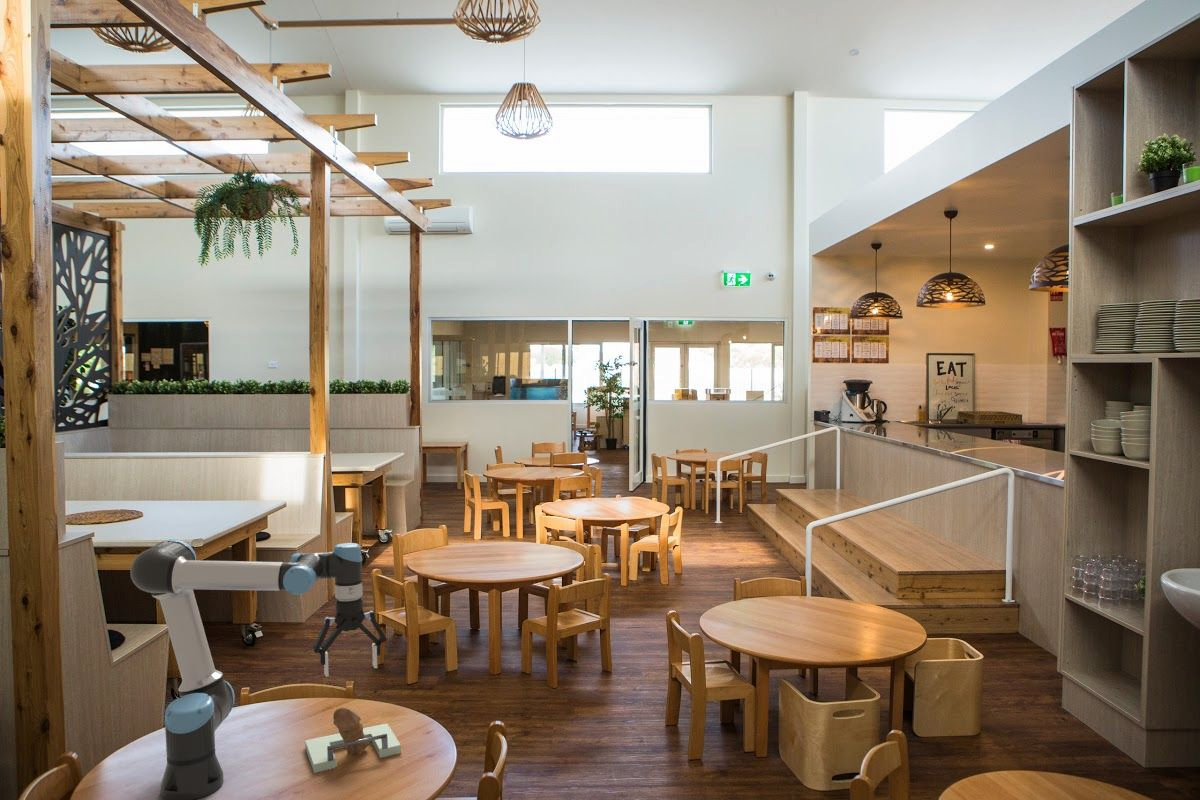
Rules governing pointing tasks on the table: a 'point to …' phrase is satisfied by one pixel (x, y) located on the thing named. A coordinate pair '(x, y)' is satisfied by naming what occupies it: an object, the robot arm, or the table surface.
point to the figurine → (350, 729)
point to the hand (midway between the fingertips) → (351, 671)
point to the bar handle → (330, 748)
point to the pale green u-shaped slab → (319, 746)
